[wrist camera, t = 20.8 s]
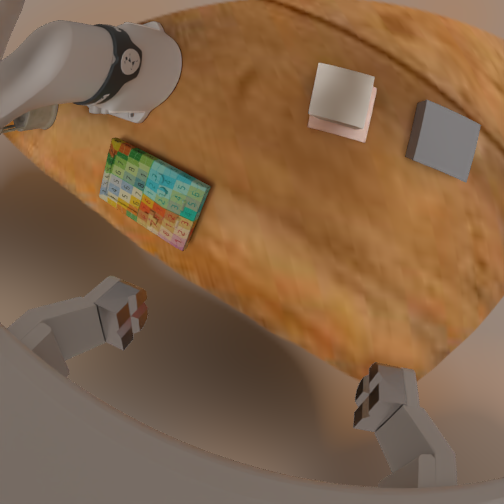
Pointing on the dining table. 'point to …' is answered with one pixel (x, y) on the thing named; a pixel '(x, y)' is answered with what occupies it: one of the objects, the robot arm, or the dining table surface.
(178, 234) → the puzzle game
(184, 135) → the dining table surface
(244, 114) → the dining table surface
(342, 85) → the cream block
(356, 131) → the terracotta tile
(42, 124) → the lamp
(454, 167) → the charcoal plinth
